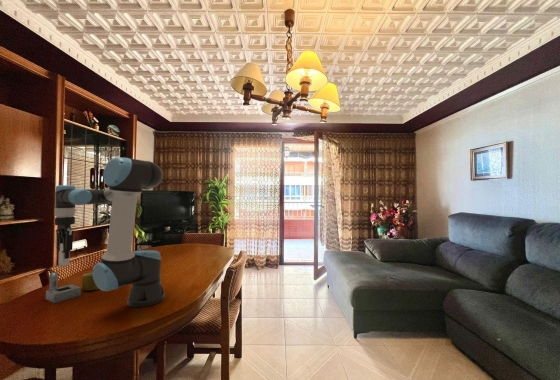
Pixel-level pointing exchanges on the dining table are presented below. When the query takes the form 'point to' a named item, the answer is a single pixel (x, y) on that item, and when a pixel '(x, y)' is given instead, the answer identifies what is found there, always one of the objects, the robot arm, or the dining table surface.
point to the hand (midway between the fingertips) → (64, 264)
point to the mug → (88, 282)
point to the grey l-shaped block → (61, 290)
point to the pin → (61, 254)
